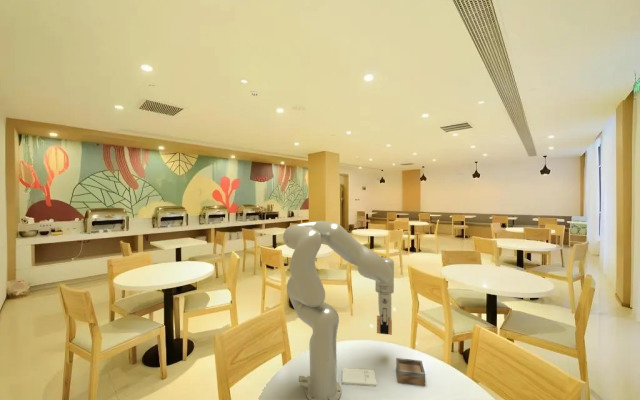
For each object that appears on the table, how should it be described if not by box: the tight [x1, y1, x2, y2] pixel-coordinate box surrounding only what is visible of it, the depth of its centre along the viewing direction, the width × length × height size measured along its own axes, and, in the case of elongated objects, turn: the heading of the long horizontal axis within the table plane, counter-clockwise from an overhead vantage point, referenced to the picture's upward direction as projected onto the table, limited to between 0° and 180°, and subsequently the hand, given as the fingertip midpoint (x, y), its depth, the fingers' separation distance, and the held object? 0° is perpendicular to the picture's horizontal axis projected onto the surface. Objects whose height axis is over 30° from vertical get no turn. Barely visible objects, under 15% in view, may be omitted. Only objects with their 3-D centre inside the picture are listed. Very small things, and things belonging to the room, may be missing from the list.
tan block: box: [376, 315, 393, 336], centre depth 115 cm, size 6×4×6 cm
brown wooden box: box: [395, 357, 426, 387], centre depth 104 cm, size 10×8×4 cm
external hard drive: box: [341, 367, 377, 387], centre depth 104 cm, size 2×8×12 cm
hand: (384, 330), depth 115 cm, fingers closed on tan block, 4 cm apart
